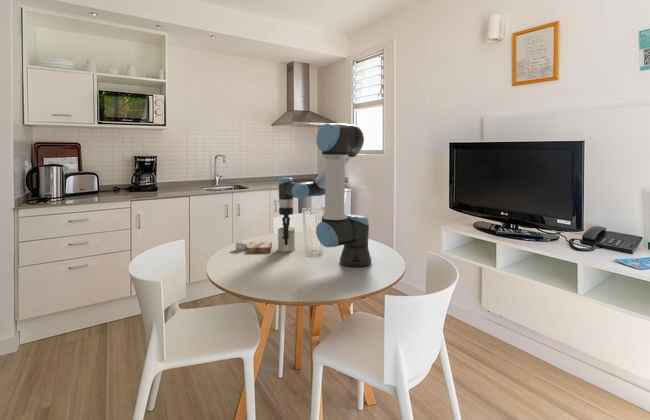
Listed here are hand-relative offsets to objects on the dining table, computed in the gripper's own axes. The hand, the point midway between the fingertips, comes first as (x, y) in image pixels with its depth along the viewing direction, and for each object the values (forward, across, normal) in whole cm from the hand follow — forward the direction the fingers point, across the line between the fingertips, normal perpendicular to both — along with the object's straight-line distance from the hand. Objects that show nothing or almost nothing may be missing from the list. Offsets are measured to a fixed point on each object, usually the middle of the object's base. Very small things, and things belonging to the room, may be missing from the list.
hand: (286, 247), depth 197 cm
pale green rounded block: (+1, -1, -24) cm, 24 cm away
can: (+1, 0, 0) cm, 1 cm away
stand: (+1, -1, -14) cm, 14 cm away
